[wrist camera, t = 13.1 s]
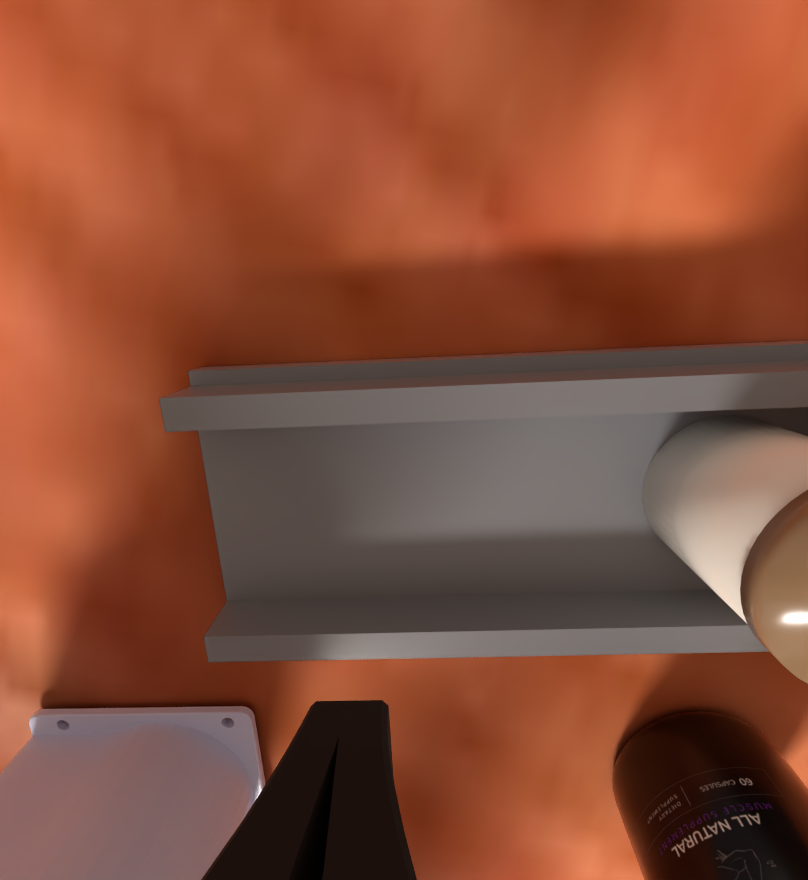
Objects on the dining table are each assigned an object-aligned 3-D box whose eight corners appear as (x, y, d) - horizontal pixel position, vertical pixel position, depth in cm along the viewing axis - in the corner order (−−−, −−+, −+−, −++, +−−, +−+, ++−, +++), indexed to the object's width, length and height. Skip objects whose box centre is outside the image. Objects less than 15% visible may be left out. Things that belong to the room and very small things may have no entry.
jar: (641, 566, 17) (759, 708, 11) (635, 424, 16) (767, 499, 10) (795, 547, 17) (1003, 682, 11) (804, 399, 15) (1048, 462, 9)
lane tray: (241, 619, 19) (166, 753, 14) (201, 367, 17) (86, 401, 11) (867, 604, 18) (1074, 744, 13) (934, 334, 16) (1234, 353, 10)
